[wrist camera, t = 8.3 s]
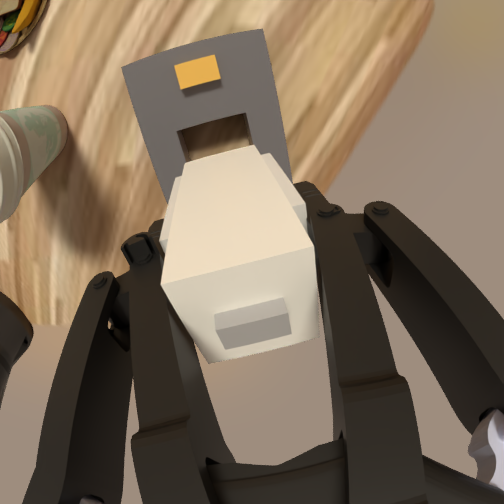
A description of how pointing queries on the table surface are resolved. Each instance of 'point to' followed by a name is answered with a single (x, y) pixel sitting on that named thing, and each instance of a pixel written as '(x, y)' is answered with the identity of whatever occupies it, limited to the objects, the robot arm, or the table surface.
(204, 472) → the robot arm
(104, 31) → the table surface
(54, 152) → the coffee cup
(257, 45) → the grey charger dock
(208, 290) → the block
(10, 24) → the toy sandwich meal
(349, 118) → the table surface
